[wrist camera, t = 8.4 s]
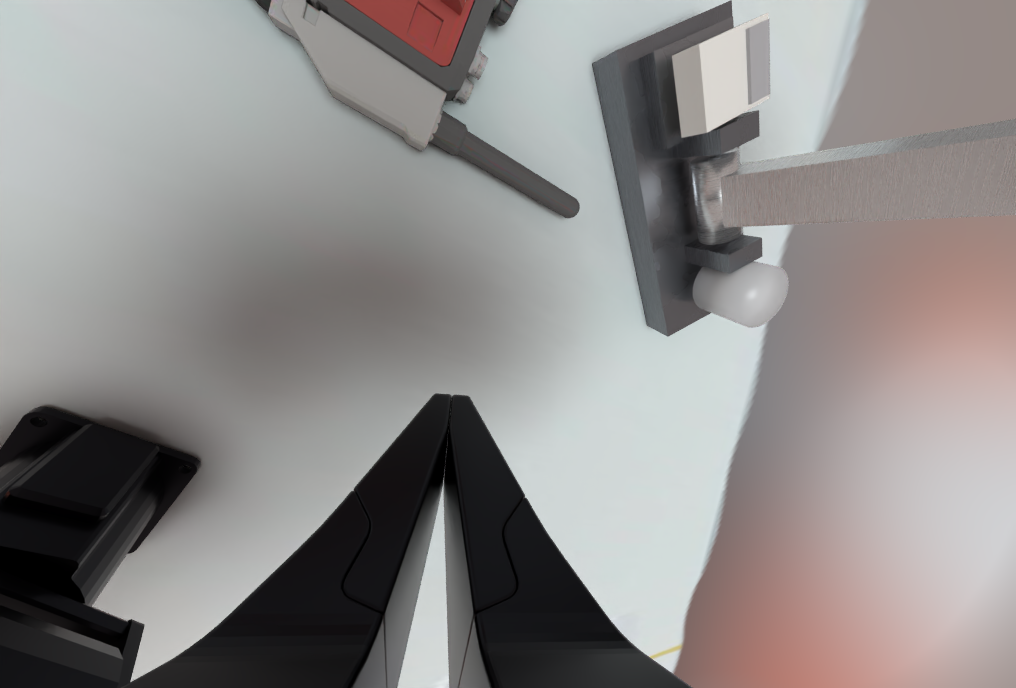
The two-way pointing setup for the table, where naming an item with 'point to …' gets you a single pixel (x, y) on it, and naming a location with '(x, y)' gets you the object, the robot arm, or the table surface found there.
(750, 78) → the white block
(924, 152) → the ball-topped post
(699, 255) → the slide switch base
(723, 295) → the push button
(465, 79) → the walkie-talkie
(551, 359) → the table surface
